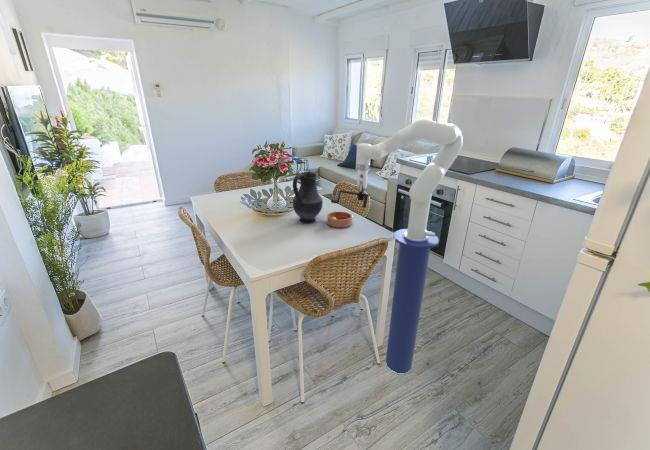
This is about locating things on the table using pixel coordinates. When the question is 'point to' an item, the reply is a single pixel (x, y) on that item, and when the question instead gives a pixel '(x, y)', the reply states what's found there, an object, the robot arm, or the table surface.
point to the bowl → (339, 219)
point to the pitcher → (307, 197)
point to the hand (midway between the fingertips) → (360, 199)
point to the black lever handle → (336, 200)
